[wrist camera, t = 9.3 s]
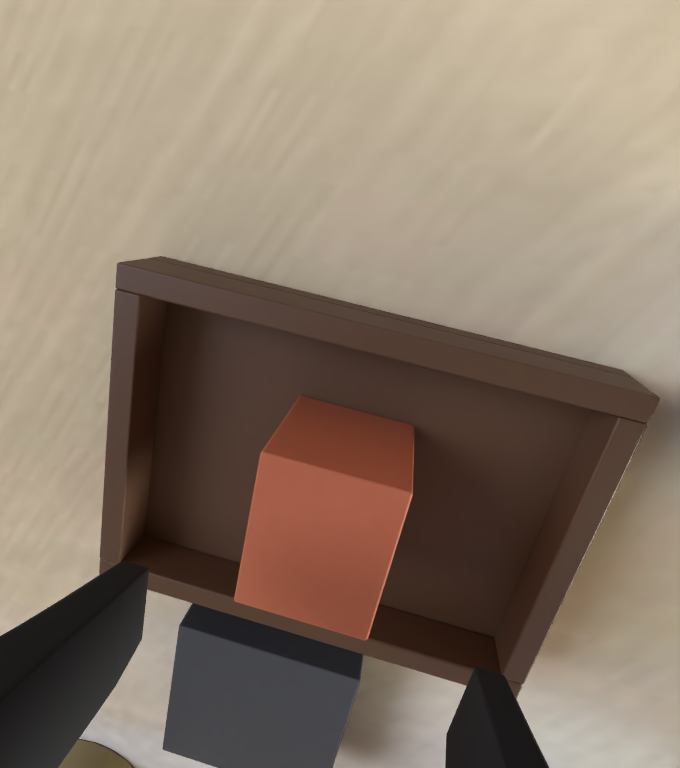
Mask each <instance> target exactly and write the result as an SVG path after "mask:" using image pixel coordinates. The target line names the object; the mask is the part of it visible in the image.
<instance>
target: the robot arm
mask: <svg viewBox="0 0 680 768" xmlns="http://www.w3.org/2000/svg"><path fill="white" fill-rule="evenodd" d="M148 575H149V568H147V567H143V566H140V565H137V564H133V563H130V562H127V561H121V562H119V563H118V564H116V565H115V566H113V567H111V568H110V569H108V570H107V571H105V572H104V573H102V574H100V575H99V576H97V577H96V578H94V579H93V580H91V581H90V582H88V583H87V584H85V585H83V586H82V587H80V588H79V589H77V590H76V591H74V592H72V593H71V594H69V595H68V596H66V597H65V598H63V599H61V600H60V601H58V602H57V603H55V604H53V605H52V606H50V607H48V608H47V609H45V610H44V611H42V612H40V613H39V614H37V615H35V616H34V617H32V618H30V619H29V620H27V621H25V622H24V623H22V624H21V625H19V626H17V627H15V628H14V629H12V630H10V631H9V632H7V633H5V634H3V635H1V636H0V768H58V767H59V766H60V764H61V763H62V762H63V760H64V759H65V757H66V756H67V754H68V753H69V752H70V750H71V749H72V747H73V746H74V745H75V743H76V742H77V740H78V739H79V737H80V736H81V735H82V733H83V732H84V730H85V729H86V728H87V726H88V725H89V723H90V722H91V720H92V719H93V718H94V716H95V715H96V713H97V712H98V710H99V709H100V708H101V706H102V705H103V703H104V702H105V700H106V699H107V697H108V696H109V695H110V693H111V692H112V690H113V689H114V687H115V686H116V684H117V682H118V680H119V679H120V677H121V675H122V673H123V672H124V670H125V668H126V667H127V665H128V663H129V661H130V659H131V657H132V656H133V654H134V652H135V650H136V648H137V647H138V645H139V643H140V641H141V639H142V632H143V623H144V613H145V604H146V594H147V584H148ZM446 768H549V766H548V764H547V762H546V760H545V758H544V756H543V754H542V752H541V750H540V748H539V746H538V744H537V742H536V740H535V738H534V736H533V734H532V731H531V729H530V727H529V725H528V723H527V721H526V719H525V717H524V715H523V713H522V710H521V708H520V706H519V704H518V702H517V700H516V698H515V696H514V693H513V691H512V689H511V687H510V685H509V683H508V681H507V679H506V677H505V675H502V674H498V673H495V672H492V671H488V670H485V669H482V668H479V667H475V668H474V670H473V673H472V675H471V677H470V680H469V682H468V685H467V687H466V689H465V692H464V694H463V696H462V699H461V701H460V704H459V706H458V708H457V711H456V713H455V716H454V718H453V720H452V723H451V725H450V727H449V730H448V732H447V739H446Z"/></svg>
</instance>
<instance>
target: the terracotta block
mask: <svg viewBox="0 0 680 768" xmlns="http://www.w3.org/2000/svg"><path fill="white" fill-rule="evenodd" d="M414 432H415V427H414V426H413V425H410V424H406V423H403V422H399V421H395V420H391V419H388V418H384V417H380V416H376V415H372V414H369V413H365V412H361V411H357V410H353V409H350V408H346V407H342V406H338V405H334V404H331V403H327V402H323V401H319V400H315V399H312V398H308V397H304V396H299V398H298V399H297V401H296V402H295V404H294V405H293V407H292V408H291V410H290V411H289V412H288V414H287V415H286V417H285V418H284V420H283V421H282V423H281V424H280V425H279V427H278V428H277V430H276V431H275V433H274V434H273V436H272V437H271V439H270V440H269V441H268V443H267V444H266V446H265V447H264V449H263V450H262V452H261V453H260V458H259V464H258V469H257V475H256V480H255V486H254V492H253V497H252V503H251V508H250V514H249V519H248V525H247V530H246V536H245V541H244V547H243V552H242V558H241V563H240V569H239V574H238V580H237V586H236V591H235V597H234V601H235V602H238V603H241V604H245V605H248V606H251V607H255V608H258V609H261V610H265V611H268V612H271V613H275V614H278V615H281V616H285V617H288V618H291V619H295V620H298V621H301V622H305V623H308V624H311V625H315V626H318V627H321V628H325V629H328V630H331V631H335V632H338V633H341V634H345V635H348V636H351V637H355V638H358V639H362V640H367V639H368V637H369V633H370V630H371V627H372V624H373V621H374V617H375V614H376V611H377V608H378V605H379V601H380V598H381V595H382V592H383V588H384V585H385V582H386V579H387V576H388V572H389V569H390V566H391V563H392V560H393V556H394V553H395V550H396V547H397V544H398V540H399V537H400V534H401V531H402V528H403V524H404V521H405V518H406V515H407V512H408V508H409V505H410V502H411V499H412V496H413V467H414Z"/></svg>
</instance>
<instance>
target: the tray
mask: <svg viewBox="0 0 680 768" xmlns="http://www.w3.org/2000/svg"><path fill="white" fill-rule="evenodd" d="M116 288H117V289H116V291H115V305H114V322H113V339H112V356H111V374H110V391H109V408H108V425H107V443H106V460H105V477H104V494H103V512H102V529H101V546H100V558H101V559H100V571H99V574H102V573H104V572H105V571H107V570H108V569H110V568H111V567H113V566H115V565H116V564H118V563H119V562H121V561H127V562H130V563H133V564H137V565H140V566H143V567H147V568H149V575H148V584H147V589H148V590H151V591H155V592H158V593H161V594H165V595H168V596H171V597H175V598H178V599H181V600H185V601H188V602H191V603H195V604H198V605H201V606H204V607H208V608H211V609H214V610H218V611H221V612H224V613H228V614H231V615H234V616H238V617H241V618H244V619H248V620H251V621H254V622H258V623H261V624H264V625H268V626H271V627H274V628H277V629H281V630H284V631H287V632H291V633H294V634H297V635H301V636H304V637H307V638H311V639H314V640H317V641H321V642H324V643H327V644H331V645H334V646H337V647H341V648H344V649H347V650H350V651H354V652H357V653H360V654H364V655H367V656H370V657H374V658H377V659H380V660H384V661H387V662H390V663H394V664H397V665H400V666H404V667H407V668H410V669H413V670H417V671H420V672H423V673H427V674H430V675H433V676H437V677H440V678H443V679H447V680H450V681H453V682H457V683H460V684H463V685H468V682H469V680H470V677H471V675H472V673H473V670H474V668H475V667H479V668H482V669H485V670H488V671H492V672H495V673H498V674H502V675H505V677H506V679H507V681H508V683H509V685H510V687H511V689H512V691H513V693H514V696H515V698H517V696H518V694H519V692H520V690H521V688H522V685H523V684H524V682H525V680H526V678H527V676H528V674H529V672H530V670H531V668H532V666H533V664H534V661H535V659H536V657H537V655H538V653H539V651H540V649H541V647H542V645H543V643H544V640H545V638H546V636H547V634H548V632H549V630H550V628H551V626H552V624H553V622H554V620H555V617H556V615H557V613H558V611H559V609H560V607H561V605H562V603H563V601H564V599H565V597H566V594H567V592H568V590H569V588H570V586H571V584H572V582H573V580H574V578H575V576H576V573H577V571H578V569H579V567H580V565H581V563H582V561H583V559H584V557H585V555H586V553H587V550H588V548H589V546H590V544H591V542H592V540H593V538H594V536H595V534H596V532H597V530H598V527H599V525H600V523H601V521H602V519H603V517H604V515H605V513H606V511H607V509H608V506H609V504H610V502H611V500H612V498H613V496H614V494H615V492H616V490H617V488H618V486H619V483H620V481H621V479H622V477H623V475H624V473H625V471H626V469H627V467H628V465H629V463H630V460H631V458H632V456H633V454H634V452H635V450H636V448H637V446H638V444H639V442H640V439H641V437H642V435H643V433H644V431H645V429H646V427H647V424H646V423H648V422H649V421H650V419H651V416H652V414H653V412H654V410H655V408H656V406H657V404H658V402H659V397H658V396H656V395H655V394H654V393H652V392H651V391H650V390H648V389H647V388H646V387H644V386H643V385H642V384H640V383H639V382H637V381H636V380H635V379H633V377H631V376H630V375H628V374H627V373H626V372H624V371H623V370H620V369H616V368H612V367H607V366H603V365H599V364H595V363H591V362H587V361H583V360H579V359H575V358H571V357H567V356H563V355H559V354H555V353H551V352H547V351H543V350H539V349H535V348H531V347H526V346H522V345H518V344H514V343H510V342H506V341H502V340H498V339H494V338H490V337H486V336H482V335H478V334H474V333H470V332H466V331H462V330H458V329H454V328H449V327H445V326H441V325H437V324H433V323H429V322H425V321H421V320H417V319H413V318H409V317H405V316H401V315H397V314H393V313H389V312H385V311H381V310H377V309H373V308H368V307H364V306H360V305H356V304H352V303H348V302H344V301H340V300H336V299H332V298H328V297H324V296H320V295H316V294H312V293H308V292H304V291H300V290H296V289H291V288H287V287H283V286H279V285H275V284H271V283H267V282H263V281H259V280H255V279H251V278H247V277H243V276H239V275H235V274H231V273H227V272H223V271H219V270H215V269H210V268H206V267H202V266H198V265H194V264H190V263H186V262H182V261H178V260H174V259H170V258H166V257H162V256H160V257H153V258H147V259H140V260H133V261H126V262H119V263H117V274H116ZM299 396H304V397H308V398H312V399H315V400H319V401H323V402H327V403H331V404H334V405H338V406H342V407H346V408H350V409H353V410H357V411H361V412H365V413H369V414H372V415H376V416H380V417H384V418H388V419H391V420H395V421H399V422H403V423H406V424H410V425H413V426H414V427H415V432H414V467H413V496H412V499H411V502H410V505H409V508H408V512H407V515H406V518H405V521H404V524H403V528H402V531H401V534H400V537H399V540H398V544H397V547H396V550H395V553H394V556H393V560H392V563H391V566H390V569H389V572H388V576H387V579H386V582H385V585H384V588H383V592H382V595H381V598H380V601H379V605H378V608H377V611H376V614H375V617H374V621H373V624H372V627H371V630H370V633H369V637H368V639H367V640H362V639H358V638H355V637H351V636H348V635H345V634H341V633H338V632H335V631H331V630H328V629H325V628H321V627H318V626H315V625H311V624H308V623H305V622H301V621H298V620H295V619H291V618H288V617H285V616H281V615H278V614H275V613H271V612H268V611H265V610H261V609H258V608H255V607H251V606H248V605H245V604H241V603H238V602H235V601H234V597H235V591H236V586H237V580H238V574H239V569H240V563H241V558H242V552H243V547H244V541H245V536H246V530H247V525H248V519H249V514H250V508H251V503H252V497H253V492H254V486H255V480H256V475H257V469H258V464H259V458H260V453H261V452H262V450H263V449H264V447H265V446H266V444H267V443H268V441H269V440H270V439H271V437H272V436H273V434H274V433H275V431H276V430H277V428H278V427H279V425H280V424H281V423H282V421H283V420H284V418H285V417H286V415H287V414H288V412H289V411H290V410H291V408H292V407H293V405H294V404H295V402H296V401H297V399H298V398H299Z"/></svg>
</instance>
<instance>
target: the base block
mask: <svg viewBox="0 0 680 768" xmlns="http://www.w3.org/2000/svg"><path fill="white" fill-rule="evenodd" d="M363 655H364V654H360V653H357V652H354V651H350V650H347V649H344V648H341V647H337V646H334V645H331V644H327V643H324V642H321V641H317V640H314V639H311V638H307V637H304V636H301V635H297V634H294V633H291V632H287V631H284V630H281V629H277V628H274V627H271V626H268V625H264V624H261V623H258V622H254V621H251V620H248V619H244V618H241V617H238V616H234V615H231V614H228V613H224V612H221V611H218V610H214V609H211V608H208V607H204V606H201V605H198V604H195V603H192V605H191V607H190V608H189V610H188V612H187V613H186V615H185V617H184V618H183V620H182V622H181V624H180V625H179V631H178V639H177V646H176V654H175V661H174V668H173V676H172V683H171V691H170V698H169V705H168V713H167V720H166V728H165V735H164V743H163V750H165V751H169V752H172V753H175V754H178V755H181V756H184V757H187V758H190V759H193V760H196V761H199V762H202V763H205V764H208V765H211V766H214V767H218V768H333V765H334V762H335V758H336V755H337V752H338V749H339V746H340V743H341V740H342V736H343V733H344V730H345V727H346V724H347V721H348V717H349V714H350V711H351V708H352V705H353V702H354V699H355V695H356V692H357V689H358V686H359V683H360V678H361V670H362V663H363Z"/></svg>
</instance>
